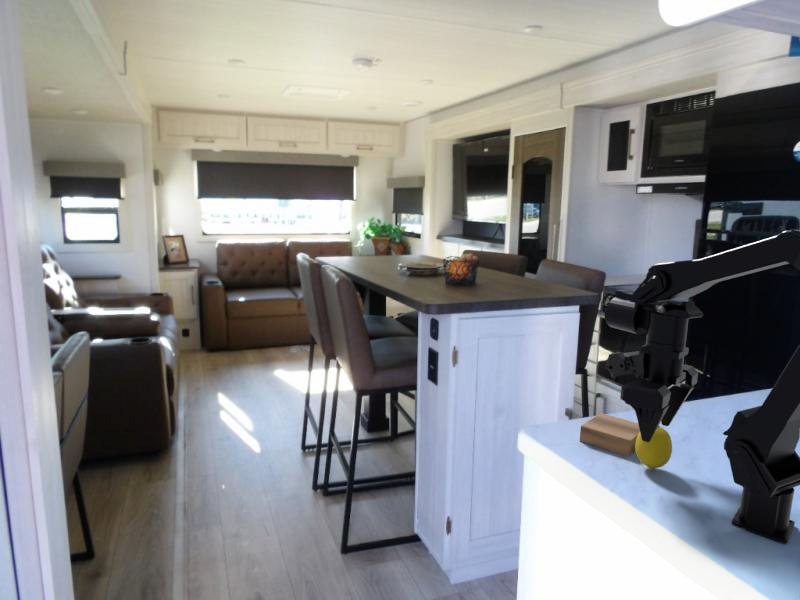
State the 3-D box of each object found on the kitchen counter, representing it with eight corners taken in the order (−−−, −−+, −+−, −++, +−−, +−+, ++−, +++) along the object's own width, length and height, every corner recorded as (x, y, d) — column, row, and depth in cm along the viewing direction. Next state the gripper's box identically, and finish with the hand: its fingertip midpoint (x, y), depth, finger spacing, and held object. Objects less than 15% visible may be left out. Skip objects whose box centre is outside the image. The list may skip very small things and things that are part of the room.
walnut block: (628, 456, 97) (630, 440, 97) (579, 440, 103) (580, 425, 103) (646, 441, 104) (648, 426, 103) (599, 427, 110) (601, 413, 109)
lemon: (648, 479, 89) (653, 432, 88) (626, 463, 95) (630, 419, 93) (677, 475, 91) (682, 429, 89) (653, 460, 96) (658, 416, 95)
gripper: (636, 324, 101) (628, 406, 104) (592, 341, 87) (584, 434, 90) (703, 335, 93) (693, 422, 96) (666, 355, 80) (655, 457, 83)
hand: (655, 433), depth 91 cm, fingers open, 9 cm apart
